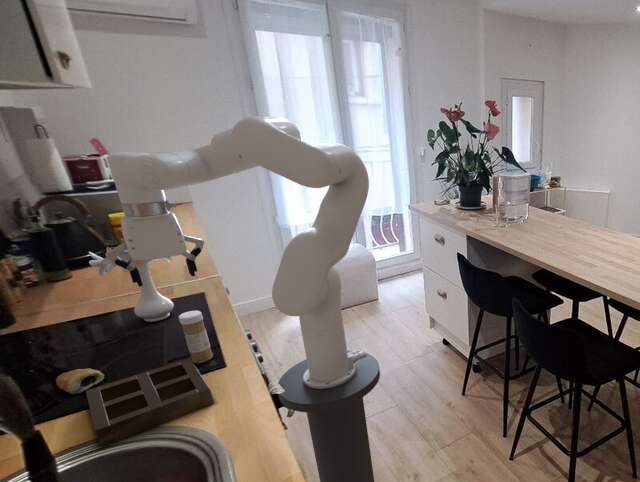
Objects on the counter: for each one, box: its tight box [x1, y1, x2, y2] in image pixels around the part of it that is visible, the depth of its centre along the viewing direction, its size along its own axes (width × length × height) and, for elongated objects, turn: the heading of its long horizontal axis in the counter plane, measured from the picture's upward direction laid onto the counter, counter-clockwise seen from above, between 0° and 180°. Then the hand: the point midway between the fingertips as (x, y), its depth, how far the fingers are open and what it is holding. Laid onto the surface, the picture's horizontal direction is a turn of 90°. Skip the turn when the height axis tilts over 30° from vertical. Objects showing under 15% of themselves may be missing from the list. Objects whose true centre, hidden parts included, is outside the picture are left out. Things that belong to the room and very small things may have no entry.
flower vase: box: [88, 246, 175, 323], centre depth 124 cm, size 13×18×25 cm
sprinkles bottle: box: [178, 310, 214, 364], centre depth 106 cm, size 5×5×14 cm
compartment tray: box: [85, 357, 215, 448], centre depth 90 cm, size 18×18×4 cm
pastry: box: [55, 367, 105, 395], centre depth 96 cm, size 9×7×4 cm
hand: (167, 279), depth 98 cm, fingers open, 9 cm apart
